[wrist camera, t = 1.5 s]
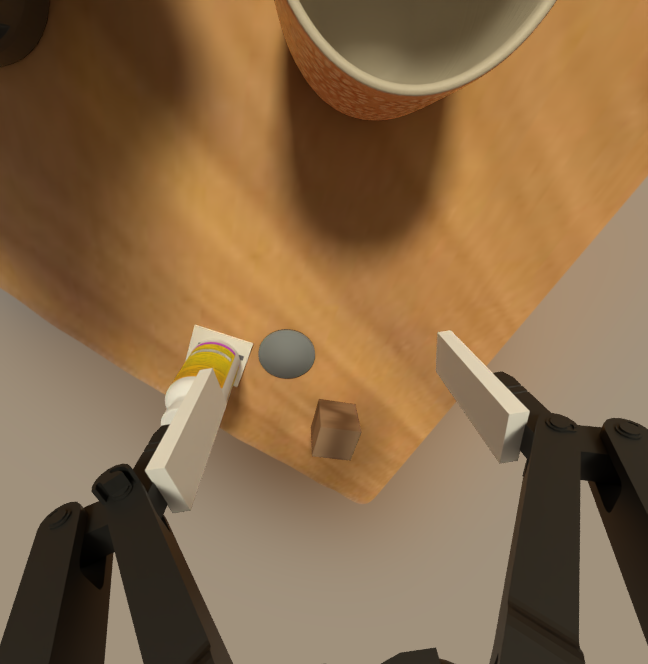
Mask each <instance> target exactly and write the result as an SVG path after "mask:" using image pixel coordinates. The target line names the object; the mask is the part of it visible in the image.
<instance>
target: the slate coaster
mask: <svg viewBox="0 0 648 664" xmlns="http://www.w3.org/2000/svg"><path fill="white" fill-rule="evenodd" d="M314 359H315V350H314V346H313V344H312V342H311V341H310V340H309V338H308V337H306V336H305V335H304V334H302V333H300V332H298V331H295V330H288V329H284V330H278V331H275V332H273V333H271V334H269V335H268V336H267V337H266V338H265V339H264V340H263V341H262V343H261V345H260V348H259V360H260V363H261V365H262V366H263V368H264V369H265V370H266V371H267V372H269V373H270V374H272V375H274V376H276V377H279V378H295V377H299V376H301V375H303V374H304V373H306V372H307V371H308V370H309V369H310V368H311V366H312V365H313V363H314Z"/></svg>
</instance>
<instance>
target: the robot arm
mask: <svg viewBox="0 0 648 664" xmlns="http://www.w3.org/2000/svg"><path fill="white" fill-rule="evenodd" d="M48 10H49V0H0V66H4V65H9V64H12V63H14V62H17V61H19V60H20V59H22V58H24V57H25V56H26V55H27V54H29V53H30V52H31V51H32V49H33V48H34V47H35V46H36V44H37V43H38V41H39V40H40V38H41V36H42V33H43V31H44V28H45V25H46V21H47V16H48ZM436 372H437V374H438V375H439V377H440V378H441V379H442V381H443V382H444V384H445V385H446V387H447V388H448V390H449V391H450V393H451V394H452V395H453V397H454V398H455V400H456V401H457V403H458V404H459V405H460V407H461V408H462V410H463V411H464V413H465V414H466V416H467V417H468V419H469V420H470V421H471V423H472V424H473V426H474V427H475V429H476V430H477V431H478V433H479V434H480V436H481V437H482V439H483V440H484V442H485V443H486V445H487V446H488V447H489V449H490V450H491V452H492V453H493V455H494V456H495V458H496V459H497V461H498V462H499V463H506V462H513V461H518V458H519V454H520V451H521V452H522V453H523V455H524V456H525V457H526V458H527V461H526V464H525V469H524V472H523V482H522V487H521V493H520V499H519V505H518V510H517V516H516V522H515V527H514V533H513V539H512V544H511V550H510V555H509V562H508V567H507V572H506V578H505V584H504V590H503V596H502V601H501V607H500V612H499V618H498V624H497V629H496V635H495V640H494V646H493V650H492V655H491V659H490V664H585V660H584V655H583V652H582V651H581V649H580V646H579V561H580V560H579V559H580V554H579V553H580V480H586V481H588V483H589V486H590V488H591V491H592V494H593V497H594V499H595V502H596V505H597V508H598V510H599V513H600V516H601V518H602V521H603V524H604V527H605V529H606V532H607V535H608V538H609V540H610V543H611V546H612V548H613V551H614V554H615V557H616V559H617V562H618V565H619V568H620V570H621V573H622V576H623V579H624V581H625V584H626V587H627V590H628V592H629V595H630V598H631V600H632V603H633V606H634V609H635V612H636V614H637V617H638V620H639V623H640V625H641V628H642V631H643V633H644V636H645V638H646V642H647V644H648V429H646V428H645V427H643V426H642V425H640V424H638V423H635V422H633V421H630V420H626V419H621V418H611V419H608V420H606V421H605V423H604V424H603V426H602V427H591V426H580V425H577V424H576V423H575V422H574V421H572V420H570V419H569V418H568V417H565V416H562V415H560V414H554V413H551V412H550V411H548V410H547V409H546V408H545V407H544V406H543V405H542V404H541V403H540V402H539V401H538V400H537V399H536V398H535V397H534V396H533V395H531V394H530V393H529V392H527V390H526V389H525V388H524V387H523V386H521V384H520V383H518V381H516V379H515V378H513V377H512V376H510V375H508V374H506V373H504V372H496V373H492V372H491V371H490V370H489V369H488V368H487V367H486V366H485V365H484V364H483V363H482V362H481V361H480V360H479V359H478V358H477V357H476V356H475V355H474V354H473V353H472V352H471V351H470V350H469V349H468V347H467V346H466V345H465V344H464V343H463V342H462V341H461V340H460V339H459V338H458V337H457V336H456V335H455V334H454V333H453V332H452V331H451V330H449V331H443V332H437V356H436ZM226 406H227V403H226V400H225V398H224V395H223V393H222V390H221V388H220V385H219V383H218V380H217V378H216V375H215V373H214V370H213V368H210V369H203V370H200V371H199V372H198V374H197V376H196V378H195V380H194V382H193V383H192V385H191V387H190V389H189V391H188V393H187V394H186V396H185V398H184V400H183V402H182V403H181V405H180V407H179V409H178V411H177V413H176V414H175V416H174V418H173V420H172V422H171V424H167V425H162V426H161V427H160V428H159V429H158V430H157V432H155V433H154V434H153V436H152V438H151V440H150V441H149V444H148V445H147V446H146V448H145V450H144V452H143V453H142V455H141V457H140V458H139V460H138V462H137V463H136V465H135V467H134V469H132V468H131V467H130V466H129V465H128V464H120V465H116V466H114V467H112V468H110V469H108V470H107V471H105V472H104V473H103V474H101V476H99V477H98V479H96V481H95V482H94V484H93V486H92V493H93V494H94V495H95V496H96V497H97V499H98V500H99V502H96V503H94V504H91V505H89V506H86V507H85V508H83V507H82V506H81V505H80V504H79V503H78V502H70V503H67V504H64V505H62V506H60V507H58V508H57V509H55V510H54V511H53V512H51V513H50V514H49V515H48V516H47V517H46V518H45V519H44V520H43V522H42V523H41V524H40V526H39V528H38V530H37V533H36V536H35V539H34V542H33V546H32V548H31V552H30V555H29V558H28V561H27V564H26V567H25V570H24V574H23V576H22V580H21V583H20V586H19V589H18V592H17V595H16V598H15V601H14V604H13V607H12V610H11V613H10V616H9V619H8V622H7V626H6V629H5V632H4V635H3V638H2V641H1V644H0V664H104V659H105V647H106V635H107V623H108V611H109V599H110V587H111V575H112V563H113V562H112V561H113V553H114V552H115V554H116V558H117V562H118V566H119V570H120V574H121V578H122V581H123V585H124V589H125V593H126V597H127V601H128V605H129V609H130V612H131V616H132V620H133V624H134V628H135V632H136V636H137V640H138V644H139V647H140V651H141V655H142V659H143V663H144V664H233V662H232V660H231V658H230V656H229V654H228V652H227V649H226V647H225V645H224V643H223V641H222V639H221V636H220V634H219V632H218V630H217V628H216V626H215V623H214V621H213V619H212V617H211V615H210V613H209V610H208V608H207V606H206V604H205V602H204V600H203V597H202V595H201V593H200V591H199V589H198V587H197V584H196V582H195V580H194V578H193V576H192V574H191V571H190V569H189V567H188V565H187V563H186V561H185V558H184V556H183V554H182V552H181V550H180V548H179V546H178V543H177V541H176V539H175V537H174V535H173V532H172V530H171V528H170V526H169V524H168V522H167V519H166V518H165V516H164V515H163V514H164V512H165V509H166V507H167V505H168V507H169V508H170V510H171V511H172V513H178V512H184V511H190V510H191V508H192V505H193V502H194V499H195V496H196V493H197V490H198V487H199V484H200V481H201V478H202V476H203V472H204V470H205V467H206V464H207V461H208V458H209V455H210V452H211V449H212V446H213V443H214V441H215V438H216V435H217V431H218V429H219V426H220V423H221V420H222V417H223V414H224V411H225V408H226ZM381 664H454V663H452V662H449V661H447V660H443V659H439V657H438V653H437V650H436V648H430V649H423V650H416V651H409V652H402V653H399V654H397V655H395V656H394V657H392V658H390V659H388V660H387V661H385V662H383V663H381Z"/></svg>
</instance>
